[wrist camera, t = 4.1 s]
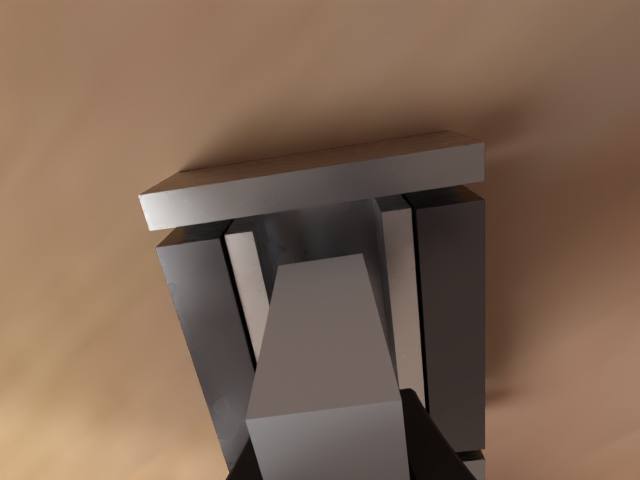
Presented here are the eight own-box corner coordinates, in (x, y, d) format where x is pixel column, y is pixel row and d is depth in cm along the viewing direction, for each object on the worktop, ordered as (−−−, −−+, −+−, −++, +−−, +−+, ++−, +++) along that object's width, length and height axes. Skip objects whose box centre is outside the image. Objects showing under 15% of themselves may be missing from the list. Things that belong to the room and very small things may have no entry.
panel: (362, 253, 11) (401, 399, 6) (385, 436, 14) (427, 649, 8) (278, 265, 11) (245, 419, 6) (317, 444, 14) (317, 659, 9)
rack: (447, 130, 13) (489, 144, 10) (457, 414, 17) (488, 487, 14) (176, 172, 13) (133, 198, 10) (253, 438, 17) (238, 514, 14)
